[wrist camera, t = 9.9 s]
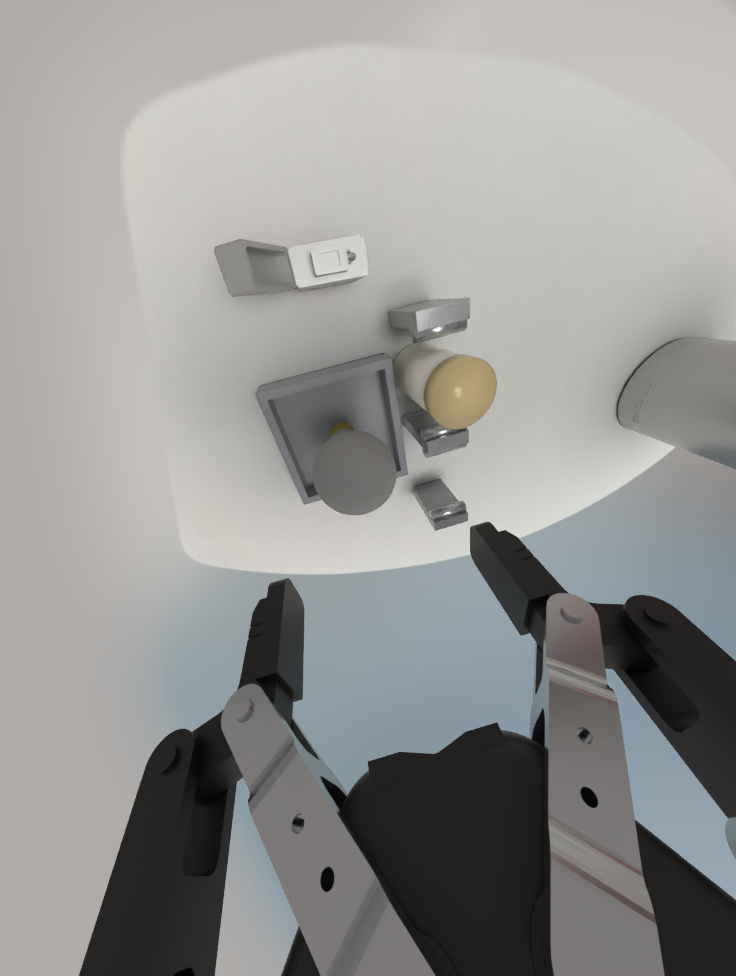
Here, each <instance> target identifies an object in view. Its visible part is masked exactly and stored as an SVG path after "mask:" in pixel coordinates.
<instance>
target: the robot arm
mask: <svg viewBox="0 0 736 976" xmlns="http://www.w3.org/2000/svg"><path fill="white" fill-rule="evenodd" d="M618 418H619V421H620V423H621V424H622V425H623V426H624V427H626V428H628V429H631V430H633V431H636V432H639V433H641V434H644V435H647V436H649V437H652V438H655V439H657V440H660V441H662V442H665V443H667V444H670V445H673V446H675V447H678V448H681V449H683V450H686V451H689V452H691V453H694V454H697V455H699V456H702V457H705V458H708V459H710V460H713V461H715V462H718V463H721V464H723V465H726V466H729V467H731V468H734V469H736V341H726V340H714V339H702V338H682V339H679V340H675V341H673V342H671V343H669V344H667V345H665V346H664V347H662V348H661V349H659V350H658V351H656V352H655V353H654V354H653V355H652V356H650V357H649V358H648V359H647V360H646V361H645V362H644V363H643V364H642V365H641V366H640V367H639V368H638V369H637V371H636V372H635V373H634V375H633V376H632V377H631V379H630V380H629V382H628V384H627V385H626V387H625V389H624V391H623V393H622V396H621V398H620V401H619V406H618ZM470 552H471V556H472V559H473V561H474V563H475V565H476V566H477V568H478V569H479V571H480V573H481V574H482V575H483V577H484V579H485V580H486V582H487V583H488V585H489V586H490V588H491V590H492V591H493V593H494V594H495V596H496V598H497V599H498V601H499V602H500V604H501V605H502V607H503V609H504V610H505V612H506V613H507V615H508V616H509V618H510V620H511V621H512V623H513V624H514V626H515V627H516V629H517V630H518V632H519V634H520V635H525V634H528V633H531V635H532V636H533V638H534V639H535V641H536V643H535V661H534V686H533V687H534V688H533V701H532V708H531V716H530V717H531V718H530V734H529V738H527V737H525V736H523V735H520V734H517V733H514V732H509V731H502V730H500V728H499V726H498V723H494V724H490V725H487V726H484V727H480V728H477V729H474V730H471V731H467V732H465V733H464V734H463V735H461V736H460V737H458V738H457V739H456V740H454V741H453V742H452V743H451V744H449V745H448V746H447V747H445V748H444V749H443V750H441V751H440V752H439V753H436V754H424V753H423V754H422V753H406V752H398V753H395V754H392V755H388V756H385V757H382V758H378V759H375V760H372V761H369V762H368V766H369V771H368V772H367V773H365V774H364V775H363V776H362V777H361V778H360V779H359V780H358V781H357V783H356V784H355V785H354V786H353V788H352V789H351V790H350V792H349V794H348V793H347V791H346V790H345V788H344V787H343V786H342V784H341V783H340V781H339V780H338V778H337V777H336V776H335V774H334V773H333V772H332V771H331V769H330V768H329V767H328V766H327V765H326V764H325V762H324V761H323V760H322V758H321V757H320V755H319V754H318V752H317V751H316V749H315V748H314V747H313V745H312V744H311V742H310V741H309V739H308V738H307V736H306V735H305V733H304V732H303V730H302V729H301V727H300V726H299V724H298V723H297V722H296V720H295V719H294V717H293V716H292V711H293V702H295V701H298V700H301V699H302V698H303V650H304V649H303V648H304V605H303V602H302V599H301V597H300V595H299V594H298V592H297V590H296V589H295V587H294V586H293V584H292V582H291V580H290V579H289V578H287V579H283V580H280V581H276V582H273V583H270V585H269V587H268V594H267V598H265V599H261V600H260V601H259V603H258V604H257V606H256V608H255V610H254V612H253V615H252V620H251V629H250V631H249V636H248V637H249V640H248V641H247V647H246V652H245V657H244V663H243V668H242V673H241V679H240V683H239V687H238V689H237V691H236V692H235V693H234V694H233V695H232V696H231V698H230V699H229V700H228V702H227V704H226V705H225V708H224V710H223V711H222V712H220V713H219V714H218V715H216V716H215V717H213V718H212V719H210V720H209V721H207V722H206V723H205V724H203V725H202V726H200V727H199V728H197V729H196V730H194V731H193V732H191V731H189V730H187V729H179V730H176V731H174V732H172V733H170V734H169V735H168V736H167V737H165V738H164V739H163V740H162V741H161V742H160V744H159V745H158V746H157V747H156V749H155V750H154V751H153V753H152V755H151V756H150V758H149V760H148V762H147V765H146V767H145V770H144V774H143V777H142V780H141V783H140V786H139V789H138V792H137V795H136V799H135V802H134V805H133V808H132V811H131V814H130V818H129V821H128V824H127V827H126V830H125V834H124V836H123V840H122V843H121V846H120V849H119V852H118V855H117V858H116V861H115V865H114V868H113V871H112V874H111V877H110V880H109V883H108V886H107V890H106V893H105V896H104V899H103V903H102V905H101V908H100V912H99V915H98V918H97V921H96V924H95V927H94V930H93V933H92V937H91V940H90V943H89V946H88V950H87V953H86V956H85V959H84V962H83V965H82V968H81V971H80V974H79V976H215V967H216V958H217V950H218V940H219V932H220V924H221V914H222V906H223V898H224V889H225V880H226V871H227V863H228V854H229V845H230V837H231V828H232V819H233V810H234V802H235V792H236V784H237V781H239V780H240V779H241V778H242V777H243V778H244V780H245V782H246V784H247V786H248V789H249V792H250V798H249V800H248V805H249V810H250V813H251V816H252V818H253V821H254V823H255V825H256V827H257V830H258V832H259V834H260V837H261V839H262V841H263V844H264V845H265V848H266V851H267V853H268V855H269V857H270V860H271V862H272V864H273V867H274V869H275V871H276V873H277V876H278V878H279V880H280V883H281V885H282V887H283V890H284V892H285V894H286V897H287V899H288V901H289V904H290V906H291V908H292V911H293V913H294V915H295V917H296V920H297V922H298V924H299V927H298V930H297V933H296V935H295V938H294V941H293V944H292V947H291V949H290V953H289V955H288V958H287V961H286V963H285V966H284V969H283V972H282V975H281V976H736V900H735V899H734V898H732V897H731V896H730V895H729V894H727V893H726V892H725V891H724V890H722V889H721V888H720V887H719V886H717V885H716V884H715V883H714V882H712V881H711V880H710V879H709V878H707V877H706V876H705V875H703V874H702V873H701V872H700V871H699V870H697V869H696V868H695V867H694V866H692V865H691V864H690V863H688V862H687V861H686V860H685V859H684V858H682V857H681V856H680V855H679V854H677V853H676V852H675V851H674V850H672V849H671V848H670V847H669V846H667V845H666V844H665V843H663V842H662V841H661V840H660V839H658V838H657V837H656V836H655V835H653V834H652V833H651V832H650V831H648V830H647V829H646V828H645V827H644V826H642V825H641V824H640V823H639V822H637V821H636V820H635V818H634V811H633V804H632V798H631V790H630V783H629V777H628V770H627V763H626V756H625V749H624V742H623V735H622V728H621V721H620V714H619V708H618V702H617V698H616V695H615V692H614V691H613V689H611V688H610V687H609V686H608V683H607V678H606V670H605V668H607V669H613V670H615V672H616V673H617V675H618V676H619V677H620V679H621V680H622V681H623V682H624V684H625V685H626V686H627V688H628V689H629V690H630V691H631V693H632V694H633V696H634V697H635V698H636V699H637V701H638V702H639V703H640V705H641V706H642V707H643V709H644V710H645V711H646V712H647V714H648V715H649V716H650V718H651V719H652V720H653V722H654V723H655V724H656V725H657V727H658V728H659V729H660V731H661V732H662V733H663V735H664V736H665V737H666V738H667V740H668V741H669V742H670V744H671V745H672V746H673V748H674V749H675V750H676V751H677V753H678V754H679V755H680V757H681V758H682V759H683V760H684V762H685V763H686V764H687V766H688V767H689V768H690V769H691V771H692V772H693V774H694V775H695V776H696V777H697V779H698V780H699V781H700V783H701V784H702V785H703V787H704V788H705V789H706V790H707V792H708V793H709V794H710V796H711V797H712V798H713V799H714V801H715V802H716V803H717V805H718V806H719V807H720V809H721V810H722V811H723V813H724V814H725V815H726V816H727V818H728V820H727V822H726V826H725V830H726V831H725V832H726V838H727V842H728V844H729V847H730V849H731V851H732V853H733V855H734V857H735V859H736V661H735V660H734V659H732V658H731V657H730V656H729V655H728V654H727V653H726V652H725V651H723V650H722V649H721V648H720V647H719V646H717V644H716V643H714V642H713V641H712V640H711V639H710V638H709V637H708V636H707V635H705V634H704V633H703V632H702V631H701V630H700V629H699V628H698V627H696V626H695V625H694V624H693V623H692V622H691V621H690V620H689V619H687V618H686V617H685V616H684V615H683V614H682V613H681V612H680V611H678V610H677V609H676V608H675V607H673V606H672V605H670V604H668V603H666V602H665V601H662V600H660V599H658V598H655V597H651V596H645V595H636V596H633V597H631V598H629V599H628V600H627V601H626V603H625V605H621V604H620V605H619V604H596V603H589V602H587V601H585V600H584V599H582V598H580V597H578V596H576V595H573V594H569V593H568V592H567V591H565V590H564V589H563V588H562V587H561V585H560V584H559V583H558V582H557V581H556V580H555V579H554V578H553V576H552V575H551V574H550V573H549V572H548V571H547V570H546V569H545V568H544V566H543V565H542V564H541V563H540V562H539V561H538V560H537V559H536V558H535V557H534V556H533V554H532V553H531V552H530V551H529V550H528V549H527V548H526V546H525V545H524V544H523V543H522V542H521V541H520V540H519V539H518V537H516V536H514V535H513V534H511V533H509V532H507V531H506V530H504V531H500V532H498V531H497V530H496V528H495V527H494V526H493V525H492V524H491V523H490V522H485V523H482V524H478V525H475V526H471V528H470Z"/></svg>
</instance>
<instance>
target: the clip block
mask: <svg viewBox="0 0 736 976" xmlns="http://www.w3.org/2000/svg"><path fill="white" fill-rule="evenodd" d="M388 312H389V319H390V326H393V327H398V328H402V329H406V330H411V338H412V341H413V343H414V344H416V343H420V342H423V341H427V340H431V339H435V338H438V337H442V336H446V335H450V334H453V333H457V332H461V331H464V330H465V329H466V327H467V319H469V318H470V298H460V299H437V300H427V301H423V302H419V303H416V304H412V305H408V306H404V307H400V308H396V309H392V310H389V311H388ZM403 421H404V426H405V427H406V428H407V430H408V431H409V432H410V433H411V434H412V435H413V437H414V438H415V439H416V440H417V441H418V442H419V444H420V445H421V446H422V449H423V454H424V456H425V457H426V458H428V457H432V456H435V455H438V454H442V453H445V452H449V451H452V450H456V449H459V448H463V447H466V444H467V443H469V430H467V429H466V428H467V427H465V428H461V429H450V428H446V427H444V426H442V425H441V424H440V423H438V422H437V421H436V420H435V419H433V418H432V417H431V416H430V415H429V413H428V412H427V411H426V410H425V409H424V410H421V411H417V412H413V413H410V414H406V415H403ZM413 494H414V496H415V498H416V499H417V501H418V503H419V504H420V506H421V508H422V509H423V511H424V513H425V514H426V516H427V518H428V520H429V521H430V523H431V525H432V526H433V528H434V530H435V531H436V530H439V529H443V528H446V527H449V526H453V525H456V524H459V523H462V522H466V521H468V512H467V511H466V505H465V503H464V502H463V501H460V502H459V501H458V500H457V499H456V497H455V496H454V495H453V494H452V493H451V491H450V490H449V489H448V488H447V486H446V485H445V484H444V483H443V481H442V480H441V479H439V480H435V481H432V482H428V483H425V484H421V485H418V486H415V487H413Z"/></svg>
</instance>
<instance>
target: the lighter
mask: <svg viewBox="0 0 736 976" xmlns="http://www.w3.org/2000/svg"><path fill="white" fill-rule="evenodd" d="M214 253H215V256H216V258H217V261H218V264H219V267H220V269H221V272H222V275H223V278H224V280H225V283H226V286H227V288H228V291H229V293H230V294H231V295H232V296H233V297H234V296H246V295H258V294H270V293H278V292H282V291H287V290H291V289H296V287H297V289H298V290H299V291H300V292H301V291H306V290H312V289H317V288H322V287H328V286H333V285H338V284H344V283H349V282H354V281H356V280H358V279H360V278H362V277H364V276H366V275H367V274H368V272H369V268H368V259H367V251H366V243H365V238H364V237H363V236H362V235H355V236H349V237H344V238H338V239H332V240H327V241H321V242H315V243H309V244H304V245H298V246H292V247H290V248H289V250H288V251H287V249H286V247H282V246H276V245H271V244H265V243H260V242H254V241H249V240H243V239H239V240H236V241H233V242H229V243H226V244H222V245H219V246H216V247H215V249H214Z"/></svg>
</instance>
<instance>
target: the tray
mask: <svg viewBox="0 0 736 976" xmlns="http://www.w3.org/2000/svg"><path fill="white" fill-rule="evenodd" d="M255 395H256V397H257V400H258V402H259V404H260V406H261V409H262V411H263V413H264V415H265V418H266V420H267V422H268V424H269V427H270V429H271V431H272V433H273V436H274V438H275V440H276V442H277V445H278V447H279V449H280V451H281V454H282V456H283V458H284V460H285V463H286V465H287V467H288V469H289V472H290V474H291V476H292V478H293V481H294V483H295V485H296V487H297V490H298V492H299V494H300V497H301V499H302V501H303V503H304V504H308V503H311V502H315V501H318V500H322V499H321V497H320V496H319V494H318V493H317V491H316V489H315V486H314V481H313V463H314V460H315V457H316V455H317V453H318V451H319V449H320V448H321V446H322V445H323V444H324V443H325V442H326V441H327V440H328V439H330V438H331V431H332V429H333V427H334V426H335V425H336V424H338V423H340V422H347V423H349V424H351V425H352V426H353V428H354V430H355V431H363V432H367V433H369V434H372V435H373V436H375V437H377V438H378V439H379V440H381V441H382V442H383V443H384V444H385V445H386V446H387V447H388V449H389V450H390V452H391V454H392V456H393V458H394V461H395V464H396V478H398V477H401V476H404V475H408V470H407V463H406V456H405V449H404V442H403V435H402V428H401V421H400V414H399V408H398V401H397V394H396V387H395V380H394V373H393V366H392V359H391V357H389V356H387V355H386V354H384V353H381V354H377V355H374V356H370V357H366V358H362V359H359V360H355V361H351V362H347V363H344V364H340V365H336V366H332V367H329V368H325V369H321V370H318V371H314V372H310V373H306V374H303V375H299V376H295V377H291V378H288V379H284V380H280V381H276V382H273V383H269V384H265V385H261V386H259V388H258V390H257V392H256V394H255Z"/></svg>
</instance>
